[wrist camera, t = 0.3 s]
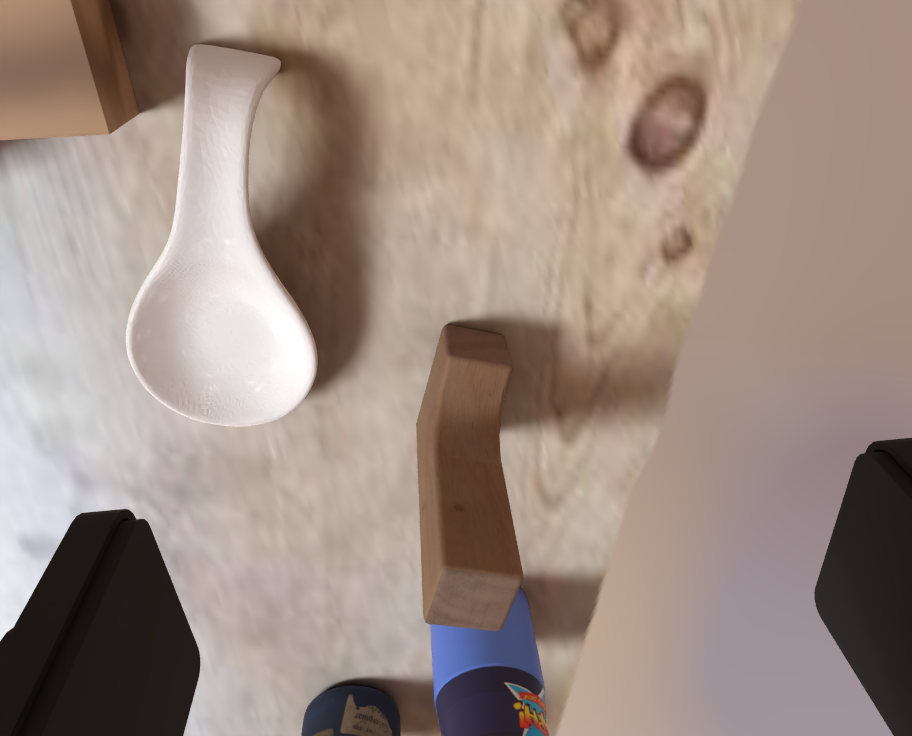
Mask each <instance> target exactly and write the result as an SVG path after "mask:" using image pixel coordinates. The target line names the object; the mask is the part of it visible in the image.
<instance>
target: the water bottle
mask: <svg viewBox="0 0 912 736" xmlns="http://www.w3.org/2000/svg"><path fill="white" fill-rule="evenodd" d="M431 646H432V667H433V685H434V702H435V708H436V711H437V717H438V722H439V727H440V732H441V736H549V733H548V730H547V727H546V711H545V687H544V681H543V676H542V671H541V665H540V660H539V655H538V649H537V644H536V639H535V634H534V629H533V624H532V618H531V613H530V608H529V603H528V599H527V596H526V594H525V593H524V591H523V590H522V589H521V588H519V590H518V593H517V595H516V597H515V600H514V602H513V605H512V607H511V609H510V612H509V614H508V616H507V619H506V621H505V623H504V626H503V628H502V629H501V630H499V631H490V630H481V629H471V628H462V627H453V626H443V625H434V624H431Z"/></svg>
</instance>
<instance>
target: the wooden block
mask: <svg viewBox="0 0 912 736" xmlns="http://www.w3.org/2000/svg"><path fill="white" fill-rule="evenodd" d="M511 373H512V364H511V360H510V356H509V352H508V349H507V345H506V341H505V337H504V336H502V335H500V334H496V333H490V332H485V331H480V330H475V329H469V328H464V327H459V326H453V325H445V326H444V327H443V329H442V332H441V335H440V339H439V343H438V346H437V350H436V354H435V357H434V361H433V365H432V368H431V372H430V376H429V379H428V383H427V387H426V391H425V394H424V398H423V402H422V405H421V409H420V413H419V416H418V420H417V424H416V426H417V458H418V483H419V508H420V536H421V563H422V591H423V616H424V619H425V622H426V623H429V624H434V625H443V626H453V627H462V628H471V629H481V630H490V631H499V630H501V629H502V628H503V626H504V623H505V621H506V619H507V616H508V614H509V612H510V609H511V607H512V605H513V602H514V600H515V597H516V595H517V593H518V590H519V588H520V586H521V583H522V581H523V572H522V566H521V561H520V556H519V551H518V546H517V541H516V535H515V530H514V525H513V520H512V515H511V510H510V505H509V499H508V494H507V489H506V484H505V479H504V474H503V468H502V463H501V456H500V439H499V434H500V424H501V415H502V406H503V401H504V398H505V394H506V391H507V387H508V383H509V380H510V376H511Z"/></svg>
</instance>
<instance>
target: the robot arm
mask: <svg viewBox="0 0 912 736" xmlns="http://www.w3.org/2000/svg"><path fill="white" fill-rule="evenodd" d="M815 603H816V607H817V610H818V613H819V615H820V617H821V619H822V620H823V622H824V624H825V625H826V627H827V628H828V630H829V632H830V633H831V635H832V636H833V638H834V640H835V641H836V643H837V645H838V646H839V648H840V649H841V651H842V653H843V654H844V656H845V658H846V659H847V661H848V662H849V664H850V666H851V667H852V669H853V670H854V672H855V674H856V675H857V677H858V679H859V680H860V682H861V684H862V685H863V687H864V688H865V690H866V692H867V693H868V695H869V696H870V698H871V700H872V701H873V703H874V704H875V706H876V708H877V709H878V711H879V713H880V714H881V716H882V717H883V719H884V721H885V722H886V724H887V726H888V727H889V729H890V730H891V732H892V734H893V735H894V736H912V438H906V439H895V440H884V441H876V442H873V443H872V444H871V445H869V446H868V448H867V450H866V452H865V453H864V454H860V455H859V456H858V457H857V459H856V461H855V463H854V466H853V469H852V472H851V476H850V479H849V482H848V485H847V489H846V492H845V495H844V498H843V501H842V504H841V508H840V511H839V514H838V518H837V520H836V524H835V527H834V530H833V533H832V537H831V540H830V543H829V546H828V549H827V553H826V555H825V559H824V562H823V565H822V568H821V571H820V575H819V578H818V581H817V584H816V587H815ZM199 673H200V654H199V649H198V646H197V644H196V641H195V639H194V636H193V634H192V631H191V629H190V626H189V624H188V621H187V618H186V616H185V613H184V611H183V608H182V606H181V603H180V601H179V598H178V596H177V593H176V591H175V588H174V586H173V583H172V581H171V578H170V576H169V573H168V571H167V568H166V566H165V563H164V560H163V558H162V555H161V553H160V550H159V548H158V545H157V543H156V540H155V538H154V535H153V533H152V530H151V528H150V526H149V524H148V522H147V521H146V520H145V519H137V520H136V518H135V516H134V514H133V513H132V512H131V511H130V510H127V509H121V510H110V511H99V512H88V513H81V514H80V515H78V516H76V518H75V519H74V520H73V522H72V523H71V525H70V527H69V529H68V530H67V532H66V534H65V536H64V538H63V539H62V541H61V543H60V545H59V547H58V548H57V550H56V552H55V554H54V556H53V558H52V559H51V561H50V563H49V565H48V567H47V568H46V570H45V572H44V574H43V576H42V577H41V579H40V581H39V583H38V585H37V586H36V588H35V590H34V592H33V594H32V595H31V597H30V599H29V601H28V603H27V604H26V606H25V608H24V610H23V612H22V613H21V615H20V617H19V619H18V621H17V622H16V624H15V626H14V628H12V629H11V630H10V631H8V632H7V633H6V634H5V636H4V637H3V638H2V640H1V641H0V736H183V734H184V730H185V727H186V723H187V719H188V715H189V712H190V708H191V704H192V701H193V697H194V693H195V689H196V686H197V682H198V678H199Z"/></svg>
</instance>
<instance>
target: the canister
mask: <svg viewBox="0 0 912 736" xmlns="http://www.w3.org/2000/svg"><path fill="white" fill-rule="evenodd" d="M302 736H400V714H399V710H398V707H397V705H396V704H395V702H394V701H393V700H392V699H391V698H390V697H389V696H388V695H386V694H385V693H383V692H381V691H379V690H377V689H374V688H370V687H365V686H342V687H338V688H334V689H330V690H328V691H326V692H324V693H322V694H320V695H319V696H317V697H316V698H315V699H314V700H313V701H312V702H311V703H310V705H309V706H308V708H307V710H306V712H305V716H304V721H303V728H302Z"/></svg>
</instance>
